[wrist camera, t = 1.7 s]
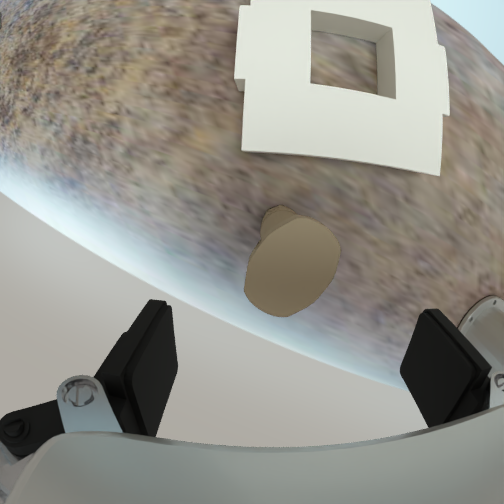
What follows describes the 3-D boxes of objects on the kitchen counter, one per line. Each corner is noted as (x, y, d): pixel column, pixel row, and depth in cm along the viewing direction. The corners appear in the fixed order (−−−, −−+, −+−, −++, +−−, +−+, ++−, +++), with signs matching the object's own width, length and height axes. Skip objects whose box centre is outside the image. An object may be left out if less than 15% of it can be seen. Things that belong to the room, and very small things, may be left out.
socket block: (423, 174, 28) (446, 177, 24) (235, 151, 29) (230, 150, 24) (418, 16, 22) (436, 3, 17) (246, -16, 22) (244, -38, 17)
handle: (243, 230, 32) (228, 290, 17) (277, 181, 30) (290, 202, 16) (280, 254, 32) (291, 328, 18) (314, 207, 30) (356, 250, 16)
